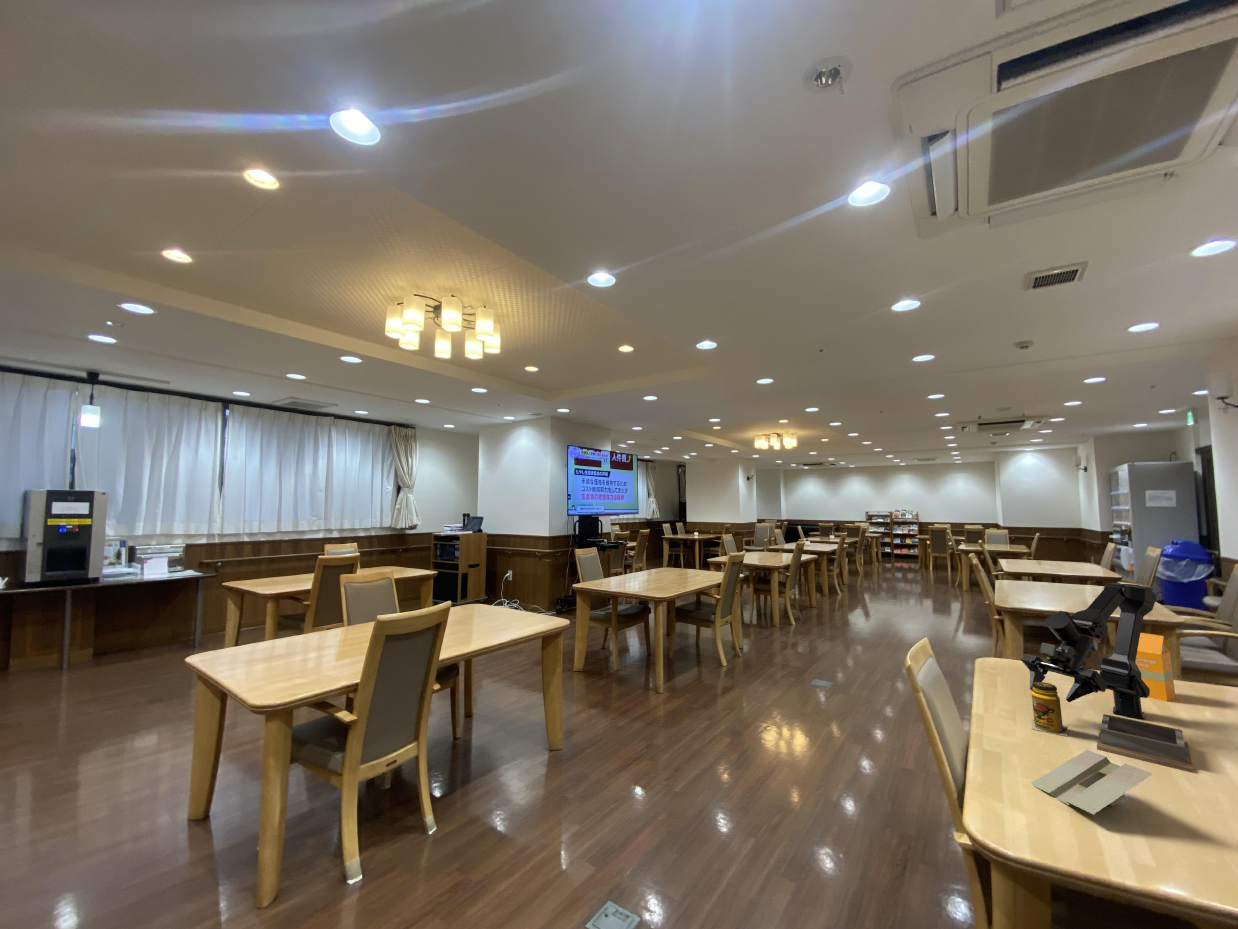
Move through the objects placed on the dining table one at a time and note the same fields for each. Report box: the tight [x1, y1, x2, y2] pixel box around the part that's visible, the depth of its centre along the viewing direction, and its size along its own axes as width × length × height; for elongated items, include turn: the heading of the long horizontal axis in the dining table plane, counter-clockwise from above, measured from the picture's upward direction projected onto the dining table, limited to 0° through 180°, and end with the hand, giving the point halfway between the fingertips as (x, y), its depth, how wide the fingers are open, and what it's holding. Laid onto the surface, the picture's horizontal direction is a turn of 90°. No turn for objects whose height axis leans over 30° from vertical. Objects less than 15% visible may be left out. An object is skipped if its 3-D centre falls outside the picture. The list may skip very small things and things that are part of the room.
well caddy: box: [1096, 713, 1194, 773], centre depth 126 cm, size 20×16×4 cm
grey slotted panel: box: [1030, 749, 1153, 816], centre depth 101 cm, size 16×9×15 cm
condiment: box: [1031, 681, 1068, 737], centre depth 138 cm, size 7×8×12 cm
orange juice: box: [1135, 632, 1177, 702], centre depth 164 cm, size 8×9×20 cm
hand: (1048, 695), depth 139 cm, fingers open, 9 cm apart
